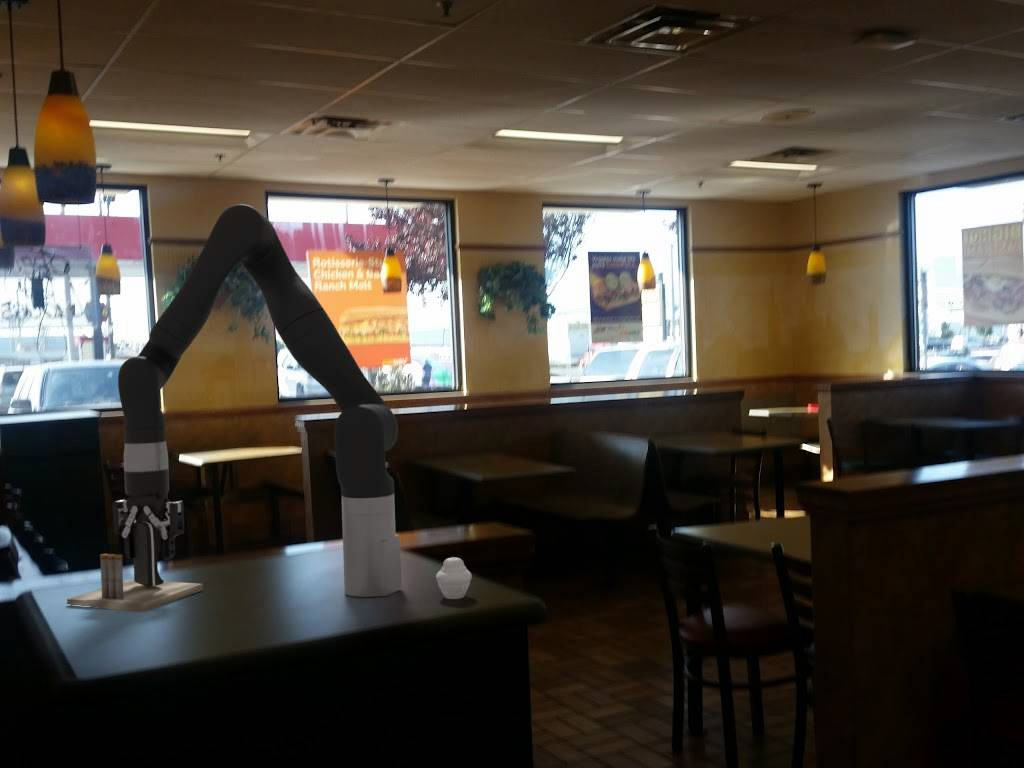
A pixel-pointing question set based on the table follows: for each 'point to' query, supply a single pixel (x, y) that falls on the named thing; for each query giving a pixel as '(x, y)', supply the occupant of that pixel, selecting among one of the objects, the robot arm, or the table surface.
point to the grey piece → (453, 578)
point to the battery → (146, 553)
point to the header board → (130, 590)
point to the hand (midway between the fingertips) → (149, 558)
